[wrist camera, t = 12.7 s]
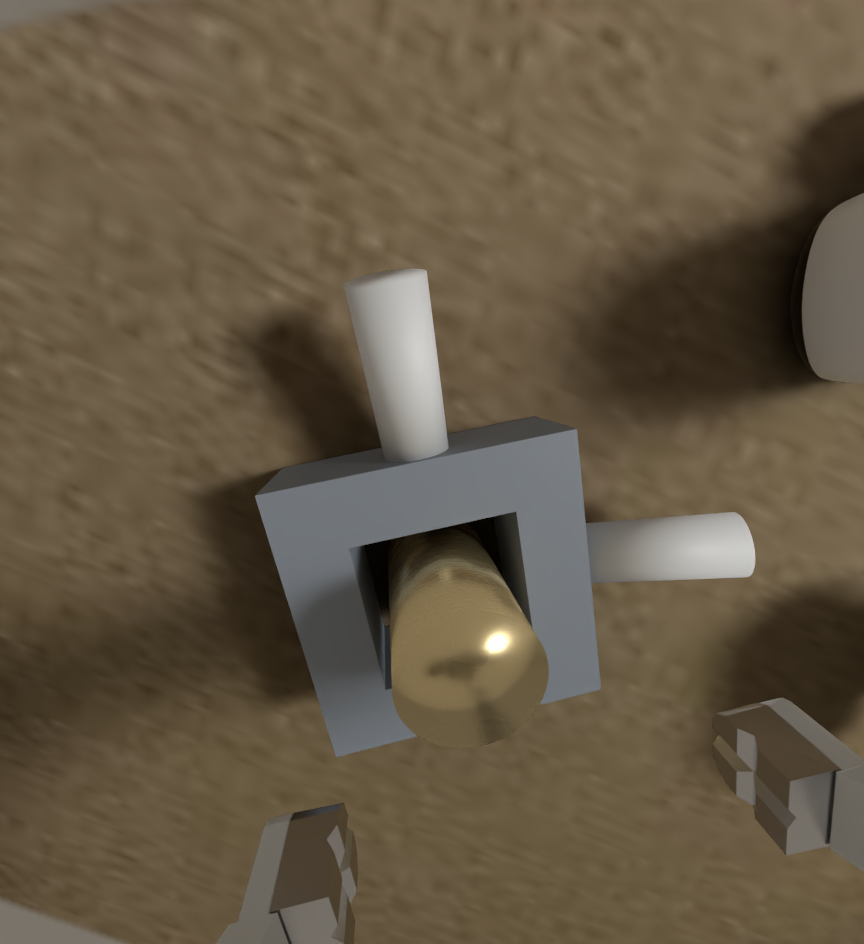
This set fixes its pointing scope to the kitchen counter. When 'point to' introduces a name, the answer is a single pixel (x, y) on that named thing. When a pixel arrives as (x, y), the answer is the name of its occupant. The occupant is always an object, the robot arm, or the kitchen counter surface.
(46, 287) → the kitchen counter surface
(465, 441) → the coupling block
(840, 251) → the spread jar
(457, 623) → the cylinder
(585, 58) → the kitchen counter surface
